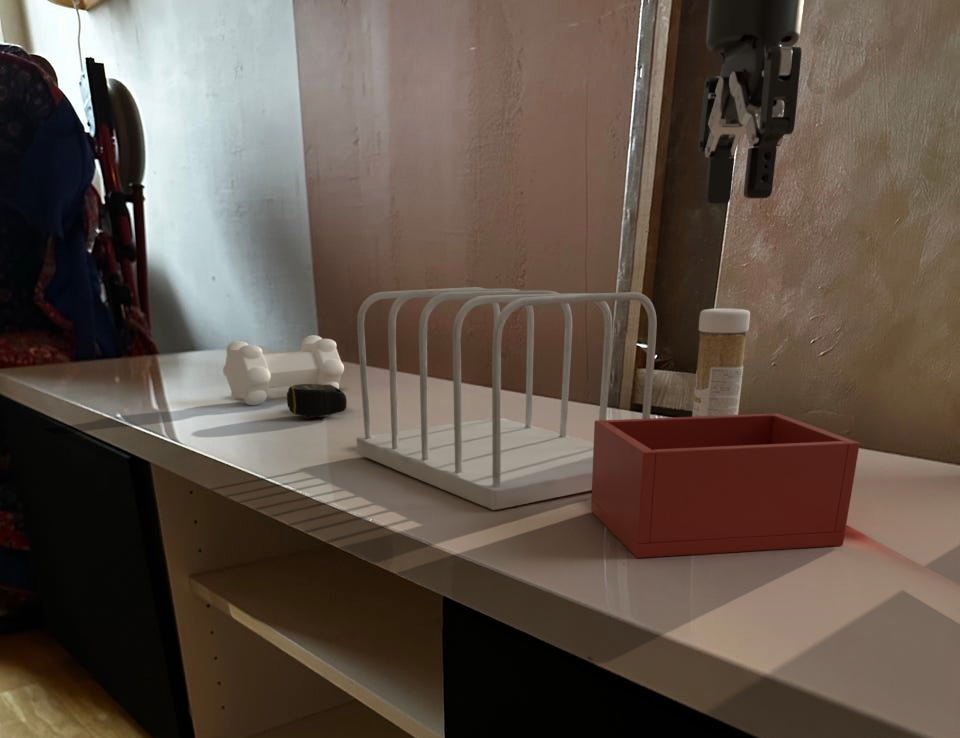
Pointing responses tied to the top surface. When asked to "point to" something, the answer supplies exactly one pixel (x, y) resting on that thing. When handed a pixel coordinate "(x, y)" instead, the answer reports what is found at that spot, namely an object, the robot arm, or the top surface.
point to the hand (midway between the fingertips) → (735, 201)
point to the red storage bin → (721, 483)
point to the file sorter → (493, 409)
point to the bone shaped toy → (280, 368)
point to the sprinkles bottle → (720, 361)
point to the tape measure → (315, 400)
